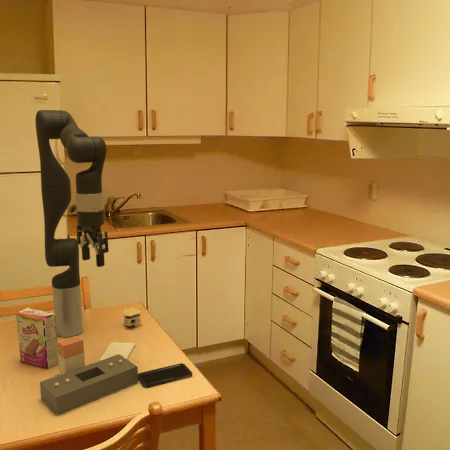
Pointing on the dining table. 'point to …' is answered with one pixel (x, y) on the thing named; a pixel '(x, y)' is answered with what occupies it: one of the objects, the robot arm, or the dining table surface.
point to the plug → (70, 354)
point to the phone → (164, 375)
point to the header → (88, 383)
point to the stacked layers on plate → (132, 317)
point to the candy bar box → (37, 337)
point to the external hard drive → (118, 350)
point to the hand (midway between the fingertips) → (93, 263)
